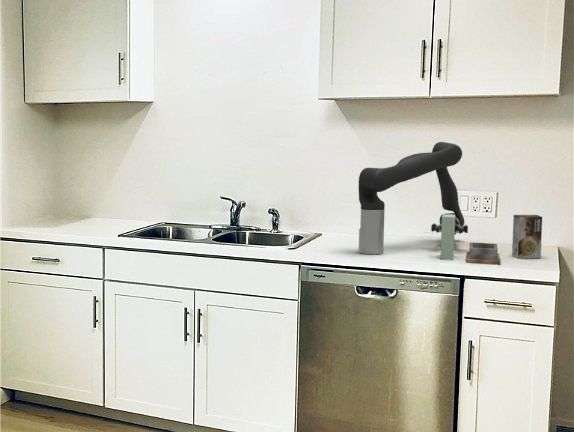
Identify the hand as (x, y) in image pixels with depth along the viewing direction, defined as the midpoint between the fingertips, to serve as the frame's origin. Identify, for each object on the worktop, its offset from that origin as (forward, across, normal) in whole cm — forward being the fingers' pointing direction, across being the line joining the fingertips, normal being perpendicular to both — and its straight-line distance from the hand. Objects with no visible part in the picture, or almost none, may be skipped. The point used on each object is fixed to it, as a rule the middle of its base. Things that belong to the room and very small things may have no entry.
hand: (449, 230), depth 266 cm
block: (+10, 0, +9) cm, 14 cm away
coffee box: (-1, +29, +9) cm, 31 cm away
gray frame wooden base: (+10, +13, +9) cm, 19 cm away
